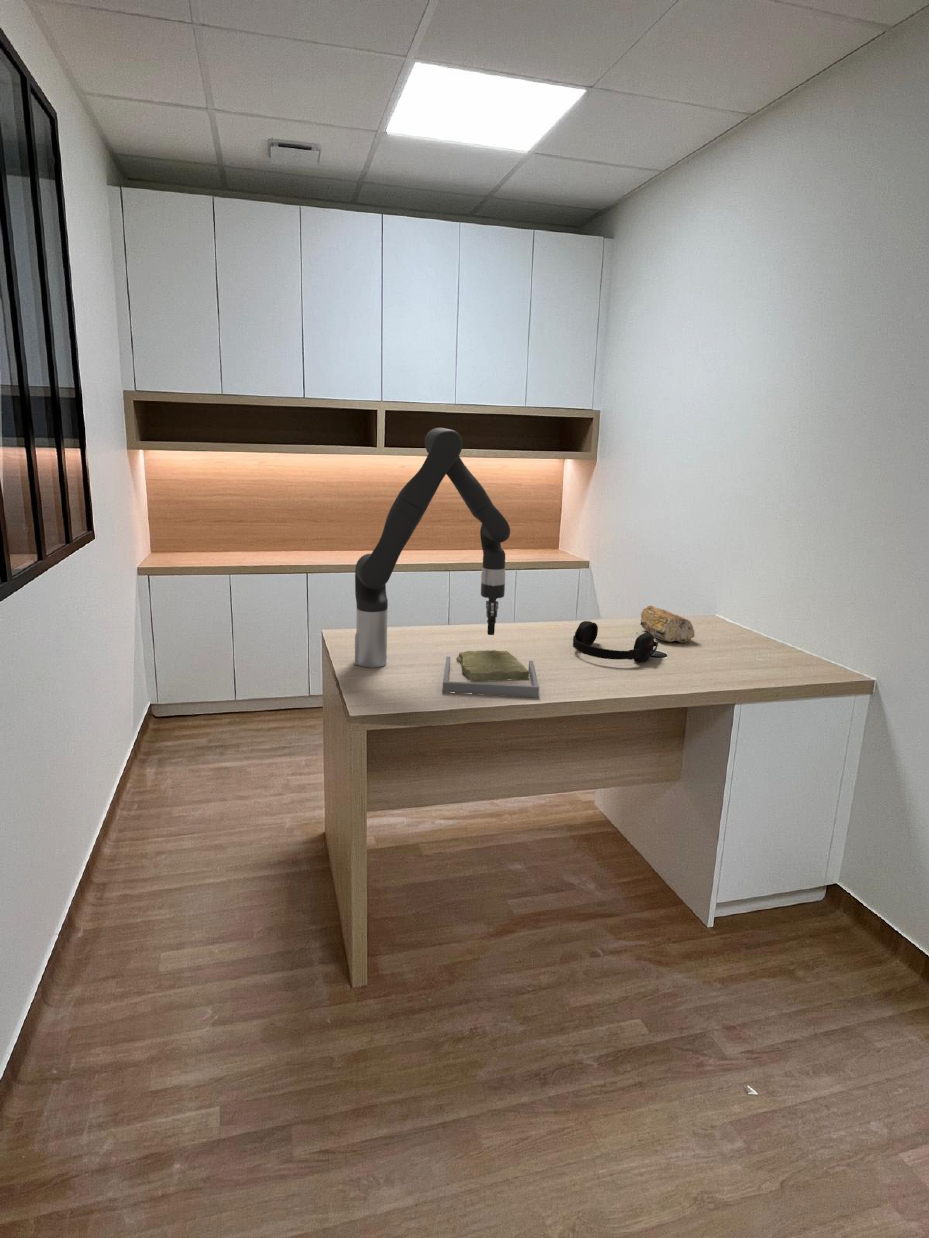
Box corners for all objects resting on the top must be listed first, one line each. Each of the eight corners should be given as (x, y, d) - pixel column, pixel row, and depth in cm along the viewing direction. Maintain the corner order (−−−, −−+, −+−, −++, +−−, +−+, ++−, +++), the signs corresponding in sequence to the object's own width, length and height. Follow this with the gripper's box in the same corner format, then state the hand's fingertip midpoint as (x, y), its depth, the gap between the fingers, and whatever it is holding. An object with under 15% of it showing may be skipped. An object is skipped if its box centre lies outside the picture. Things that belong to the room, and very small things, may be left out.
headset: (652, 647, 257) (655, 622, 255) (663, 671, 232) (666, 644, 229) (571, 640, 260) (573, 616, 258) (572, 663, 235) (575, 637, 232)
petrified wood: (634, 628, 277) (641, 603, 275) (663, 635, 281) (671, 609, 279) (660, 642, 259) (669, 615, 257) (692, 648, 263) (700, 621, 261)
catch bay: (442, 692, 204) (442, 682, 203) (446, 665, 226) (446, 656, 226) (538, 697, 204) (539, 687, 203) (532, 670, 226) (533, 660, 225)
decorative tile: (507, 659, 237) (508, 648, 236) (529, 680, 219) (530, 668, 218) (451, 661, 232) (451, 650, 231) (468, 683, 214) (468, 671, 213)
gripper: (481, 576, 240) (479, 628, 244) (481, 585, 227) (479, 639, 232) (504, 577, 240) (501, 629, 244) (505, 586, 227) (503, 640, 232)
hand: (490, 634), depth 238 cm, fingers closed
